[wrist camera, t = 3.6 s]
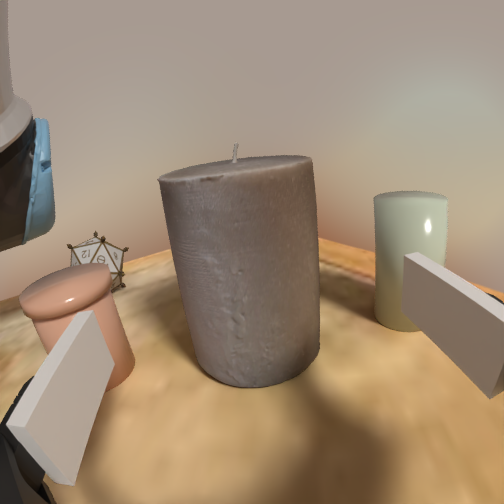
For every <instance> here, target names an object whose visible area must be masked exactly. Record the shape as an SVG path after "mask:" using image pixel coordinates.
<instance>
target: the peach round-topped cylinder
mask: <svg viewBox="0 0 504 504" xmlns="http://www.w3.org/2000/svg"><path fill="white" fill-rule="evenodd" d="M112 283H113V279H112V276H111V272H110V269H109V266H108V265H106V264H104V263H85V264H80V265H75V266H71V267H68V268H65V269H62V270H59V271H56V272H54V273H51V274H49V275H47V276H45V277H43V278H41V279H39V280H37V281H36V282H34V283H32V284H31V285H30V286H29V287H27V288H26V289H25V290H24V291H23V292H22V294H21V295H20V296H19V302H20V304H21V307H22V309H23V312H24V314H25V315H26V316H27V317H29V318H31V319H32V321H33V324H34V326H35V328H36V331H37V333H38V335H39V337H40V339H41V342H42V344H43V346H44V348H45V350H46V352H47V354H48V355H49V353H50V352H51V350H52V349H53V347H54V346H55V344H56V343H57V341H58V340H59V338H60V337H61V335H62V334H63V332H64V331H65V330H66V328H67V327H68V325H69V324H70V323H71V321H72V320H73V318H74V317H75V316H76V314H77V313H78V312H83V311H90V310H93V311H94V313H95V316H96V319H97V321H98V324H99V327H100V329H101V332H102V334H103V337H104V339H105V342H106V344H107V347H108V349H109V351H110V354H111V356H112V359H113V361H114V363H115V365H114V367H113V370H112V373H111V375H110V378H109V381H108V383H107V386H106V389H105V392H106V391H108V390H111V389H113V388H114V387H116V386H118V385H119V384H121V383H122V382H123V381H124V380H125V379H126V378H127V377H128V376H129V375H130V374H131V372H132V370H133V368H134V366H135V357H134V354H133V352H132V349H131V347H130V344H129V341H128V339H127V336H126V333H125V331H124V328H123V325H122V322H121V319H120V317H119V314H118V311H117V308H116V305H115V302H114V299H113V296H112V293H111V290H110V287H111V286H112Z"/></svg>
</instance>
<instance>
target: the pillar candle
mask: <svg viewBox="0 0 504 504" xmlns="http://www.w3.org/2000/svg"><path fill="white" fill-rule="evenodd" d="M234 146H235V147H234V150H233V152H234V154H233V159H232V160H225V161H218V162H212V163H207V164H200V165H196V166H191V167H187V168H183V169H180V170H175V171H172V172H170V173H167V174H164V175H162V176H160V178H159V179H157V180H158V181H159V184H160V190H161V195H162V201H163V207H164V213H165V218H166V223H167V229H168V235H169V240H170V245H171V250H172V255H173V260H174V265H175V270H176V274H177V279H178V284H179V288H180V293H181V298H182V302H183V307H184V311H185V315H186V319H187V323H188V327H189V330H190V335H191V338H192V342H193V346H194V350H195V354H196V358H197V361H198V363H199V365H200V366H201V367H202V368H203V369H204V370H205V371H206V372H207V373H208V374H210V375H211V376H213V377H214V378H216V379H217V380H219V381H221V382H223V383H225V384H228V385H232V386H237V387H246V388H247V387H249V388H251V387H267V386H270V385H274V384H278V383H282V382H284V381H286V380H289V379H291V378H293V377H295V376H297V375H298V374H300V373H301V372H303V371H304V370H305V369H306V368H307V367H308V366H309V365H310V364H311V363H312V362H313V361H314V359H315V358H316V356H317V355H318V352H319V349H320V342H319V339H320V275H319V246H318V231H317V206H316V194H315V184H314V173H313V163H312V159H311V158H310V157H306V156H297V155H294V156H292V155H291V156H290V155H289V156H288V155H281V156H263V157H248V158H241V159H240V158H239V159H236V156H237V148H238V143H235V144H234Z"/></svg>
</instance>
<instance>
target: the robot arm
mask: <svg viewBox="0 0 504 504" xmlns="http://www.w3.org/2000/svg"><path fill="white" fill-rule="evenodd" d="M50 157H51V151H50V135H49V124H48V121H47V120H46V119H40V118H38V119H37V118H35V119H34V120H33V116H32V110H31V106H30V104H29V103H28V102H27V101H26V100H24V99H22V98H20V97H18V96H16V95H14V94H13V88H12V80H11V71H10V59H9V44H8V0H0V252H1V251H4V250H7V249H10V248H13V247H16V246H19V245H24V244H26V242H27V241H30V240H32V239H34V238H37V237H39V236H41V235H44V234H46V233H47V232H49V230H50V229H51V228H52V227H53V225H54V222H55V202H54V191H53V179H52V170H51V158H50ZM401 312H403V313H404V314H405V315H406V316H407V317H408V318H409V319H410V320H411V321H412V322H413V323H414V324H415V325H416V326H417V327H418V328H419V329H420V330H421V331H422V332H423V333H425V334H426V335H427V336H428V337H429V338H430V339H431V340H432V341H433V342H434V343H435V344H436V345H437V346H438V347H439V348H440V349H441V350H442V351H443V352H444V353H445V354H446V355H447V356H448V357H449V358H450V359H451V360H452V361H453V362H454V363H455V364H456V365H457V366H458V367H459V368H460V369H461V370H462V371H463V372H464V373H465V374H466V375H467V376H468V377H469V378H470V379H471V381H472V382H473V383H474V384H475V385H476V386H477V387H478V388H479V389H480V390H481V391H482V392H483V393H484V394H485V395H486V396H487V397H488V398H489V399H491V398H493V397H494V396H496V395H498V394H499V393H501V392H502V391H504V303H503V301H501V300H500V299H498V298H497V297H495V296H494V295H491V294H488V293H485V292H483V291H482V290H480V289H478V288H477V287H475V286H474V285H472V284H470V283H469V282H467V281H466V280H464V279H462V278H461V277H459V276H458V275H456V274H454V273H453V272H451V271H449V270H448V269H446V268H444V267H443V266H441V265H439V264H438V263H436V262H434V261H432V260H431V259H429V258H427V257H426V256H424V255H422V254H420V253H419V252H415V253H411V254H406V255H404V266H403V287H402V302H401ZM114 365H115V363H114V361H113V359H112V356H111V354H110V351H109V349H108V347H107V344H106V342H105V339H104V337H103V334H102V332H101V329H100V327H99V324H98V321H97V319H96V316H95V313H94V311H93V310H90V311H83V312H78V313H77V314H76V316H75V317H74V318H73V320H72V321H71V323H70V324H69V325H68V327H67V328H66V330H65V331H64V332H63V334H62V335H61V337H60V338H59V340H58V341H57V343H56V344H55V346H54V347H53V349H52V350H51V352H50V353H49V355H48V356H47V358H46V359H45V361H44V362H43V364H42V365H41V367H40V368H39V370H38V371H37V373H36V375H35V376H33V377H32V378H31V379H29V380H28V381H27V382H26V383H25V384H24V385H23V387H22V388H21V390H20V392H19V393H18V396H16V398H15V400H14V401H13V402H14V404H12V405H11V406H10V408H9V410H8V411H7V413H6V415H5V417H4V418H3V420H2V422H1V424H0V504H56V502H55V500H54V498H53V496H52V494H51V492H50V490H49V487H48V486H47V485H46V483H45V482H44V481H43V478H44V475H45V473H46V474H47V475H48V476H49V477H50V478H51V479H52V480H53V481H54V482H55V483H58V484H64V485H71V486H74V485H75V482H76V478H77V475H78V471H79V468H80V464H81V461H82V458H83V454H84V451H85V448H86V445H87V442H88V438H89V435H90V432H91V429H92V426H93V423H94V420H95V417H96V414H97V411H98V409H99V406H100V403H101V400H102V397H103V394H104V392H105V389H106V386H107V383H108V381H109V378H110V375H111V373H112V370H113V367H114Z"/></svg>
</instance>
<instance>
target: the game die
mask: <svg viewBox="0 0 504 504" xmlns="http://www.w3.org/2000/svg"><path fill="white" fill-rule="evenodd" d="M94 236H95V237H94V238H92V239H89V240H87V241H85V242H83V243H81V244H79V245H77V246H75V247H72V245H70V244H67V246H68V248H69V249H71V266H75V265H80V264H85V263H104V264H106V265H108V266H109V269H110V272H111V276H112V279H113V283H112V286H111V287H110V290H113V289H114V288H116V287H117V286H119V285H121V286H122V287H126V286H125V284H124V283H122V276H124V275H125V274H124V272H122V268H123V256H124V252H126V251H128V249H129V248H127V247H126V248H124V249H123V250H122V249H120V248H118V247H116V246H114V245H112V244H110V243H108V242H106V241H105V237H104V236H103V237H101V239H100V238H98V237H97V232H96V231H95V233H94Z"/></svg>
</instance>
